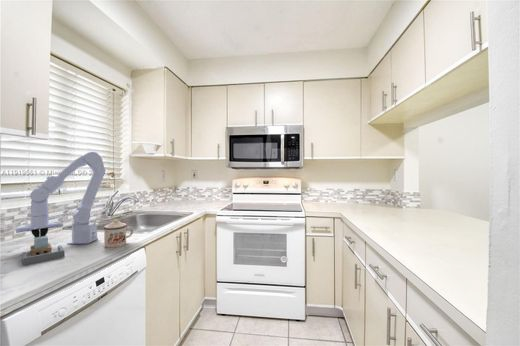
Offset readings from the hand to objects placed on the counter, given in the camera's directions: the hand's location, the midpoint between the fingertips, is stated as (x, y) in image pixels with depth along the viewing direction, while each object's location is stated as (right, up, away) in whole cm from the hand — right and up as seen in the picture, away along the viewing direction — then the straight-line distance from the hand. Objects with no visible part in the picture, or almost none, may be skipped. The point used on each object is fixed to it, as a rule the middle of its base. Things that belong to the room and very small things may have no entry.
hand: (39, 245), depth 101 cm
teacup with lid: (+31, -1, +6) cm, 32 cm away
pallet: (+4, -1, -4) cm, 6 cm away
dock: (+12, -1, -11) cm, 16 cm away
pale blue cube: (+5, +1, -4) cm, 6 cm away
